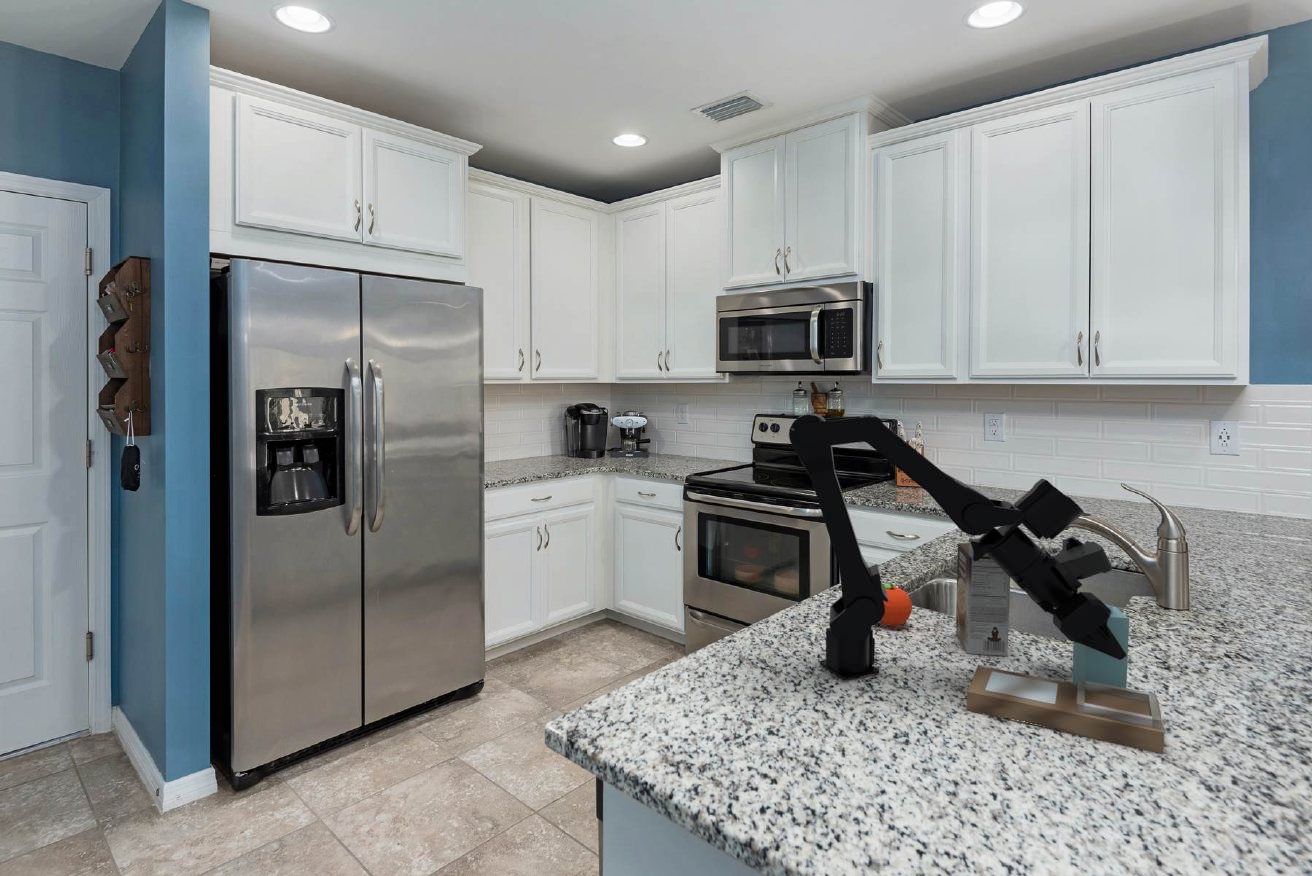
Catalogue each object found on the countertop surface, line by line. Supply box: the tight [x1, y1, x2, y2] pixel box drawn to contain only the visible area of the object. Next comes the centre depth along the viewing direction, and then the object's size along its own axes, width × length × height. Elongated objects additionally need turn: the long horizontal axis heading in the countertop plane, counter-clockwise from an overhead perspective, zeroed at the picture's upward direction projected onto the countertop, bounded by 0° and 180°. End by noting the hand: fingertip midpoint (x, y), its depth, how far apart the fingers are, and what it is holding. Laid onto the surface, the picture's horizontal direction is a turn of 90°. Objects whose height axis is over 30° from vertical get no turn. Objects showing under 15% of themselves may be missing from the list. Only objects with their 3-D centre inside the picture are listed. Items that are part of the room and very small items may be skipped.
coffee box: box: [955, 542, 1011, 657], centre depth 114 cm, size 9×6×16 cm
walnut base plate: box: [966, 665, 1165, 754], centre depth 90 cm, size 21×10×4 cm, turn 58°
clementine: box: [879, 584, 913, 627], centre depth 125 cm, size 8×7×7 cm
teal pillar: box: [1071, 603, 1130, 688], centre depth 96 cm, size 5×5×12 cm
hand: (1110, 644), depth 96 cm, fingers open, 9 cm apart
